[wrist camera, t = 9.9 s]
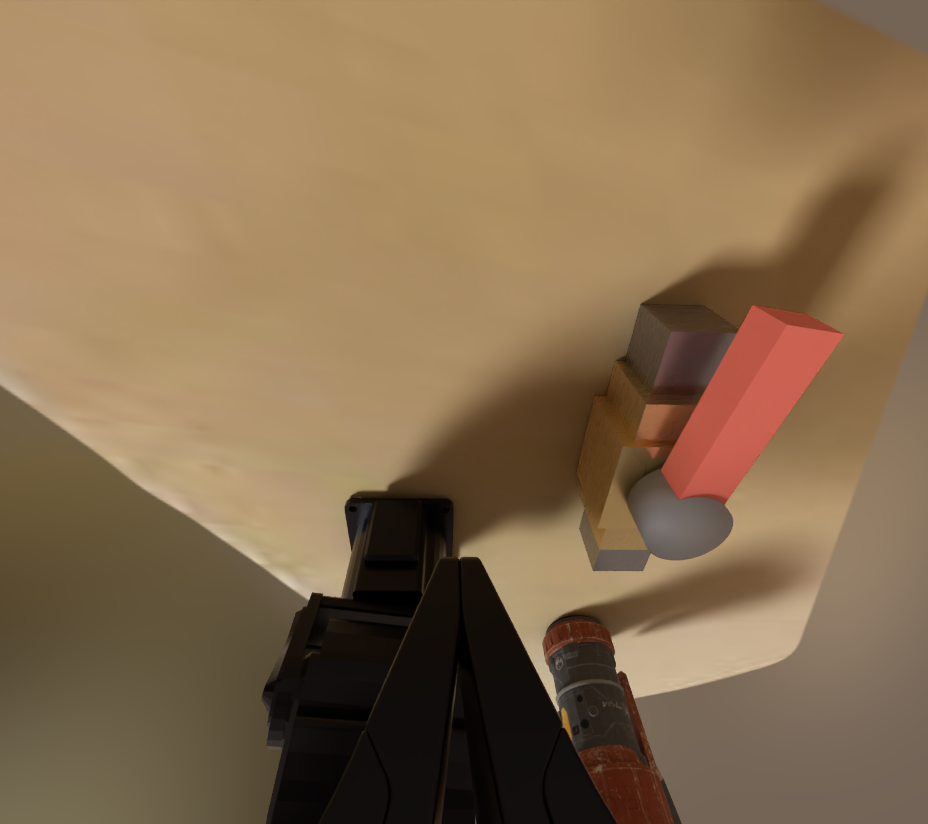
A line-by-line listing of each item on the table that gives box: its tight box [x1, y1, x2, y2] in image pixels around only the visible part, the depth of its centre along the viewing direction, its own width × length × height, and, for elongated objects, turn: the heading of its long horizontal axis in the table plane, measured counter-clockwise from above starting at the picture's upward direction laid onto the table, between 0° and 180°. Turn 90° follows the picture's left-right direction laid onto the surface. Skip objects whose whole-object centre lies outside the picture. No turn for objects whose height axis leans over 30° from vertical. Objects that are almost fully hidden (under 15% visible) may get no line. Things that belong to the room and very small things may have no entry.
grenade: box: [543, 616, 681, 824], centre depth 28 cm, size 6×8×15 cm
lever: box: [627, 305, 844, 560], centre depth 17 cm, size 11×4×2 cm, turn 170°
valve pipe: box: [577, 304, 739, 571], centre depth 22 cm, size 15×5×4 cm, turn 178°
